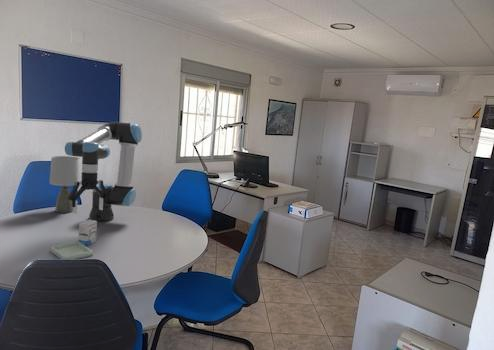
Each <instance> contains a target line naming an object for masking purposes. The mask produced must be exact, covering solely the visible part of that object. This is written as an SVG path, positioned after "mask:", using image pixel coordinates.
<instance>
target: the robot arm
mask: <svg viewBox="0 0 494 350" xmlns="http://www.w3.org/2000/svg"><path fill="white" fill-rule="evenodd" d="M142 139H143V133H142V129H141V127H140V125H138V124H137V123H132V122H131V123H130V122H128V123H127V122H122V121H121V122H120V121H111V122H108V123H105V124H103V125H101V126H99V127H98V128H97V129H96V130H95V131H93V132H92V133H90V134H88V135H87V136H85V137H83V138H81V139H79V140H77V141H75V142H74V141H68V142H66V143H65V145H64V152H65V154H66V155H67V156H69V157H77V158H82V159H81V180H80V182H77V181H75V185H74V186H73V187H72V190H71V191H70V195H69V197H68V199H69V200H72V207H73V212H72V213H73V214H78V198H79V197H81V195H82V194H83V192H85V191H86V190H87V191H88V190H92V203H91V205H92V206H91V207H92V208H91V210H90V213H89V215H88V220H95V221H97V223H98V222H99V223H101V222H102V223H105V222H110V221H113V220H114V218H115V216H114V215H115V214H114V212H113V208H112V206H121V207H131V206H132V205H133V203H134V202H135V200H136V196H137V190H136V189H135V188H134V185H133V184H132V179H133V177H132V176H133V168H134V162H135V161H134V158H135V150H136V147H137V146H138V144H139V143H140V142H141V141H142ZM110 140H117V141H118V144H119V145H120V153H119V161H118V162H119V163H118V172H117V174H118V175H117V182H116V183H115V184H114V186H113V184H112V183H104V181H103V180H102V179H99V180H98V169H99V160H101V159H106V158H108V157H109V156H110V154H111V149H110V147H109V146H107V145H105V144H102V143H103V142H107V141H110Z"/></svg>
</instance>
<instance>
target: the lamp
mask: <svg viewBox="0 0 494 350" xmlns="http://www.w3.org/2000/svg"><path fill="white" fill-rule="evenodd" d="M50 161H51V163H50V170H49V171H50V172H49V183H48V184H49V185H52V186H57V187H58V186H60V187H59V189H60V191H59V192H58V195H57V198H56V204H55V208H54V209H55V210H54V212H56V213H58V214H69V213H73V207H72V200H69V199H68V197H69V195H70V193H71V191H70V189H71V187H72V186H73V187H74V186H75V181H77V182H81V170H80V169H81V167H80V166H81V165H80V157H77V156H70V155H67V156H66V155H65V156H64V155H63V156H61V155H59V156H58V155H57V156H52V157H51V160H50Z"/></svg>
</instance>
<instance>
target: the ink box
mask: <svg viewBox="0 0 494 350" xmlns="http://www.w3.org/2000/svg"><path fill="white" fill-rule="evenodd" d="M97 223H98V222H97V221H95V220H89V219H87V220H84V221H81V222H80V223H79V224H78V242H80V243H81V244H83V245H84V246H86V247H87V246H90V245H91V244H93V243H96V242H97V230H98V229H97V226H98V224H97Z"/></svg>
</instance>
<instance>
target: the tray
mask: <svg viewBox="0 0 494 350" xmlns="http://www.w3.org/2000/svg"><path fill="white" fill-rule="evenodd" d="M50 252H51V253H52V254H54V255H55V256H57V257H58V258H59V259H60V260H61V259H75V260H79V259H85V258H87V257H91V256H93V255H94V251H93V250H92V249H90V248H89V247H87V246H84V245H83V244H81V243H80V242H79V241H75V242H69V243H63V244H59V245H53V246H50Z"/></svg>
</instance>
